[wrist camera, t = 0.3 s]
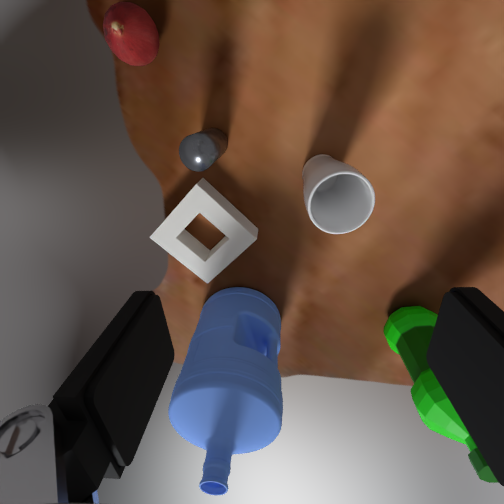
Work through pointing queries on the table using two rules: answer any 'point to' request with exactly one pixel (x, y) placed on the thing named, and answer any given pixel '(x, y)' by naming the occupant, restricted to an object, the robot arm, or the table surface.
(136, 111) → the table surface
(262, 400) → the water jug
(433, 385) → the plastic bottle
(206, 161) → the metal peg
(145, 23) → the onion
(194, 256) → the socket block
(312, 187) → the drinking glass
